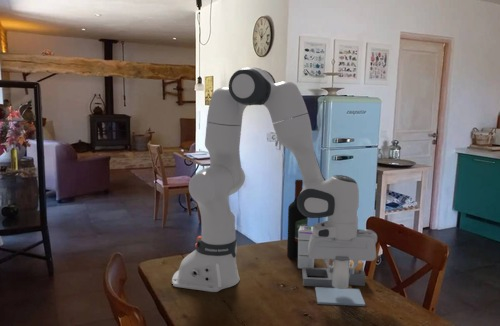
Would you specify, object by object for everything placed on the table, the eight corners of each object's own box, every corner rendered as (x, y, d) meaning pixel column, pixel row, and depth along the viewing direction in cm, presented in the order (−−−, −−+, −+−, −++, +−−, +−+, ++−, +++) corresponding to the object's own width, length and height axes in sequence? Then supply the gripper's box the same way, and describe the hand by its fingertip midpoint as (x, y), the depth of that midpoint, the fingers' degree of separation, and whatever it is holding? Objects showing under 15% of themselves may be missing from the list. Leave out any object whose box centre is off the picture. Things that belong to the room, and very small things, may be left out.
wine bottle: (296, 250, 168) (298, 177, 164) (310, 256, 163) (313, 180, 158) (283, 254, 164) (284, 179, 159) (296, 260, 158) (299, 183, 153)
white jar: (332, 288, 126) (333, 257, 124) (330, 281, 131) (331, 250, 130) (350, 289, 126) (351, 257, 124) (347, 281, 131) (349, 251, 129)
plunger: (350, 283, 138) (351, 264, 137) (348, 277, 142) (349, 259, 141) (363, 283, 137) (364, 265, 136) (361, 278, 142) (362, 259, 141)
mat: (317, 303, 125) (317, 301, 125) (315, 288, 135) (315, 287, 134) (365, 306, 124) (365, 304, 124) (359, 290, 133) (359, 289, 133)
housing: (303, 285, 137) (303, 274, 136) (302, 274, 146) (302, 263, 145) (366, 288, 135) (366, 277, 134) (360, 276, 144) (361, 265, 144)
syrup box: (313, 269, 150) (314, 230, 147) (297, 268, 151) (298, 229, 149) (314, 263, 155) (315, 226, 153) (298, 262, 156) (299, 225, 154)
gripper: (375, 226, 128) (373, 269, 130) (308, 224, 130) (307, 267, 132) (380, 233, 122) (377, 278, 124) (309, 231, 123) (308, 275, 125)
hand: (340, 272), depth 128 cm, fingers closed on white jar, 5 cm apart
